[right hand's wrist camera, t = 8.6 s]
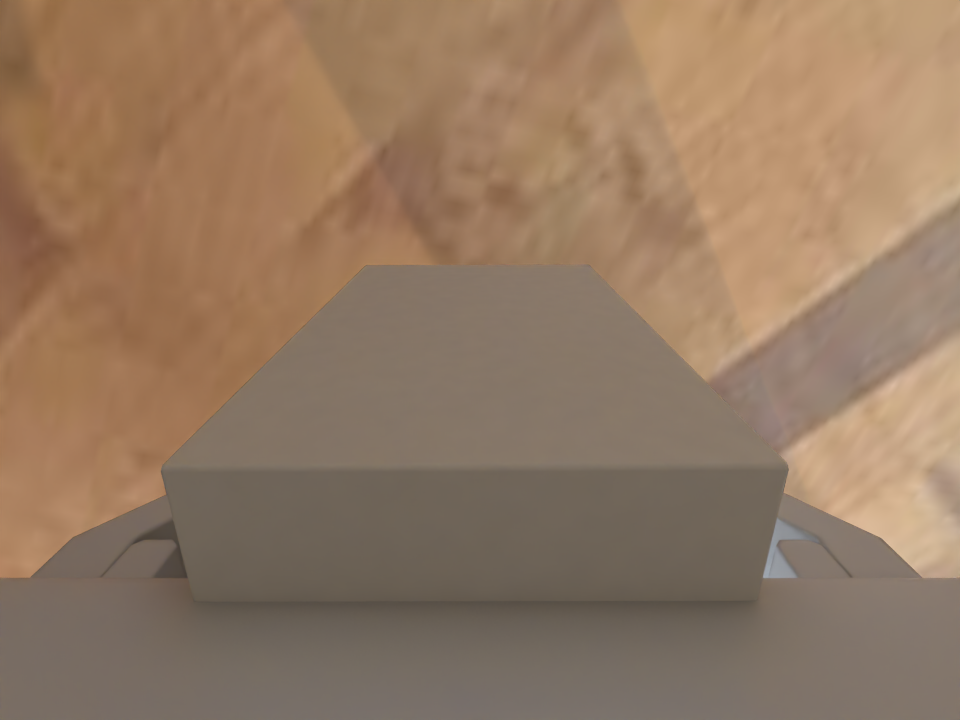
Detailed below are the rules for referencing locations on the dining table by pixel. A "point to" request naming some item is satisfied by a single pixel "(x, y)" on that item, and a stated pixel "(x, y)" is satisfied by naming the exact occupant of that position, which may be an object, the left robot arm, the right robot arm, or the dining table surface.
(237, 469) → the bar
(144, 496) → the dining table surface
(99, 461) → the dining table surface
